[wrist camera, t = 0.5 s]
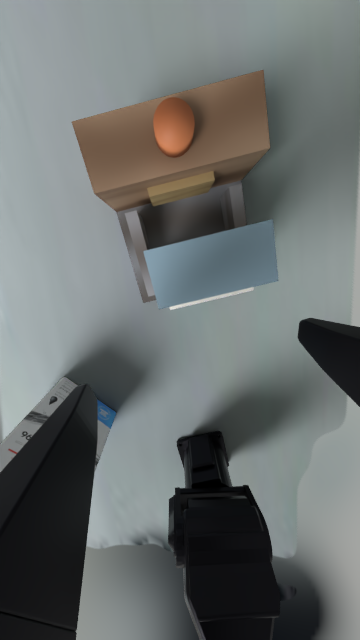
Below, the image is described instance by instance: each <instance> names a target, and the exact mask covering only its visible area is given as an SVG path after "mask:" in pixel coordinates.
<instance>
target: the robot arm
mask: <svg viewBox="0 0 360 640" xmlns="http://www.w3.org/2000/svg"><path fill="white" fill-rule="evenodd" d="M298 339H299V341H300V343H301V344H302V345H303V346H304V348H305V349H306V350H307V351H308V352H309V354H310V355H311V356H312V357H313V359H314V360H315V361H316V362H317V363H318V365H319V366H320V367H321V368H322V369H323V370H324V371H325V372H326V373H327V375H328V376H329V377H330V378H331V379H332V380H333V381H334V382H335V383H336V384H337V385H338V386H339V387H340V388H341V389H342V390H343V391H344V392H345V393H346V394H347V395H348V396H349V397H351V399H352V400H353V401H354V402H356V404H357V405H358V406H359V407H360V327H356V326H351V325H345V324H340V323H335V322H330V321H324V320H319V319H314V318H307V319H304V320H301V321H300V323H299V330H298ZM218 435H219V436H218ZM97 442H98V402H97V398H96V396H95V394H94V392H93V391H92V389H91V387H90V386H89V384H82V385H79V386H77V387H75V388H74V389H73V391H72V392H71V393H70V394H69V395H68V396H67V397H66V398H65V400H64V401H63V402H62V403H61V404H60V405H59V406H58V408H57V409H56V410H55V411H54V412H53V413H52V414H51V415H50V417H49V418H48V419H47V420H46V421H45V422H44V423H43V425H42V426H41V427H40V428H39V429H38V430H37V431H36V432H35V434H34V435H33V436H32V437H31V438H30V439H29V440H28V442H27V443H26V444H25V445H24V446H23V447H22V448H21V449H20V451H19V452H18V453H17V454H16V455H15V456H14V457H13V459H12V460H11V461H10V462H9V463H8V464H7V465H6V466H5V468H4V469H3V470H2V471H1V472H0V640H76V629H77V621H78V613H79V605H80V596H81V586H82V577H83V568H84V560H85V551H86V542H87V533H88V524H89V515H90V506H91V497H92V488H93V479H94V471H95V462H96V453H97ZM180 443H181V444H180ZM177 447H178V451H179V454H180V457H181V460H182V464H183V467H184V471H185V488H175V495H173V497H172V498H170V499H169V533H168V544H169V545H170V547H171V548H172V550H173V551H174V557H176V568H184V594H185V595H184V596H185V601H186V604H187V607H188V609H189V612H190V614H191V617H192V620H193V622H194V625H195V628H196V630H197V633H198V635H199V638H200V640H272V635H273V626H274V618H275V617H279V614H280V592H279V589H278V585H277V582H276V579H275V575H274V572H273V568H272V564H271V562H272V546H271V540H270V536H269V531H268V528H267V525H266V522H265V519H264V517H263V515H262V513H261V511H260V509H259V507H258V505H257V503H256V501H255V499H254V497H253V495H252V493H251V490H250V488H249V486H248V485H243V486H236V487H232V483H231V479H230V476H229V472H228V468H227V467H228V466H229V463H228V459H227V454H226V449H225V445H224V440H223V436H222V433H221V432H220V431H217V432H213V433H208V434H204V435H199V436H194V437H190V438H185V439H181V440H178V441H177Z"/></svg>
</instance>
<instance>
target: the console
mask: <svg viewBox="0 0 360 640" xmlns="http://www.w3.org/2000/svg"><path fill="white" fill-rule="evenodd" d="M72 124H73V127H74V131H75V134H76V137H77V140H78V143H79V146H80V150H81V153H82V156H83V159H84V162H85V165H86V169H87V172H88V175H89V178H90V181H91V184H92V188H93V191H94V194H95V195H97V196H98V197H99V198H100V199H102V200H103V201H104V202H105V203H106V204H108V205H109V206H110V207H111V208H112V209H114V210H115V211H116V212H117V215H118V218H119V222H120V225H121V229H122V232H123V235H124V239H125V242H126V246H127V249H128V252H129V256H130V259H131V263H132V266H133V269H134V273H135V276H136V280H137V283H138V286H139V290H140V293H141V297H142V300H143V303H145V302H149V301H153V300H156V296H155V293H154V289H153V285H152V282H151V278H150V274H149V271H148V267H147V263H146V260H145V256H144V252H143V251H146V250H150V249H154V248H158V247H162V246H166V245H170V244H174V243H178V242H182V241H186V240H190V239H194V238H199V237H203V236H207V235H211V234H215V233H219V232H223V231H227V230H231V229H235V228H239V227H243V226H247V221H246V213H245V205H244V197H243V189H242V181H241V180H242V179H243V178H244V177H245V176H246V174H247V173H248V172H249V171H250V170H251V169H252V168H253V167H254V166H255V164H256V163H257V162H258V161H259V160H260V159H261V158H262V157H263V155H264V154H265V153H266V152H267V151H268V150H269V149H270V141H269V130H268V118H267V107H266V95H265V83H264V72H263V70H260V71H257V72H253V73H249V74H246V75H242V76H238V77H235V78H231V79H227V80H224V81H220V82H216V83H213V84H209V85H205V86H201V87H198V88H194V89H190V90H187V91H183V92H179V93H176V94H172V95H168V96H165V97H161V98H157V99H154V100H150V101H146V102H143V103H139V104H135V105H132V106H128V107H124V108H120V109H117V110H113V111H109V112H106V113H102V114H98V115H95V116H91V117H87V118H84V119H80V120H76V121H73V122H72Z"/></svg>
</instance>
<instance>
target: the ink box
mask: <svg viewBox="0 0 360 640" xmlns="http://www.w3.org/2000/svg"><path fill="white" fill-rule="evenodd" d="M77 386H78V385H76V384H75V383H73V382H72V381H70V380H69V379H68V378H66V377H63V378H61V380H60V381H59V382H58V383H57V384H56V385H55V386H54V387H53V388H52V389H51V390H50V392H49V393H48V394H47V395H46V396H45V397H44V398H43V399H42V400H41V401H40V402H39V403H38V404H37V405H36V406H35V407H34V408H33V409H32V411H31V412H30V413H29V414H28V415H27V416H26V417H25V418H24V419H23V420H22V421H21V422H20V423H19V424H18V425H17V426H16V427H15V429H14V430H13V431H12V432H11V433H10V434H9V435H8V436H7V437H6V438H5V439H4V440H3V441H2V442H1V444H0V472H1V471H2V470H3V469H4V468H5V466H6V465H7V464H8V463H9V462H10V461H11V460H12V459H13V457H14V456H15V455H16V454H17V453H18V452H19V451H20V449H21V448H22V447H23V446H24V445H25V444H26V443H27V442H28V440H29V439H30V438H31V437H32V436H33V435H34V434H35V432H36V431H37V430H38V429H39V428H40V427H41V426H42V425H43V423H44V422H45V421H46V420H47V419H48V418H49V417H50V415H51V414H52V413H53V412H54V411H55V410H56V409H57V408H58V406H59V405H60V404H61V403H62V402H63V401H64V400H65V398H66V397H67V396H68V395H69V394H70V393H71V392H72V391H73V389H74V388H75V387H77ZM97 402H98V442H97V453H96V462H95V470H96V467H97V464H98V461H99V459H100V456H101V453H102V451H103V448H104V445H105V443H106V440H107V437H108V434H109V432H110V429H111V426H112V423H113V421H114V418H115V415H116V412H115V411H113V410H112V409H111V408H109V407H108V406H106V405H105V404H103V403H102V402H100V401H99V400H98V399H97ZM94 472H95V471H94Z"/></svg>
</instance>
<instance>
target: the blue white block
mask: <svg viewBox="0 0 360 640" xmlns="http://www.w3.org/2000/svg"><path fill="white" fill-rule="evenodd" d="M143 252H144V256H145V260H146V263H147V267H148V271H149V274H150V278H151V282H152V285H153V289H154V293H155V296H156V300H157V304H158V307H159V309H163V308H167V307H170V310H172V309H177V308H181V307H185V306H189V305H193V304H198V303H202V302H206V301H210V300H214V299H219V298H223V297H227V296H231V295H235V294H240V293H244V292H248V291H252V290H254V289H253V287H255V286H259V285H263V284H268V283H272V282H276V281H278V271H277V260H276V249H275V238H274V227H273V219H271V220H267V221H263V222H259V223H255V224H251V225H247V226H243V227H239V228H235V229H231V230H227V231H223V232H219V233H215V234H211V235H207V236H203V237H199V238H194V239H190V240H186V241H182V242H178V243H174V244H170V245H166V246H162V247H158V248H154V249H150V250H146V251H143Z"/></svg>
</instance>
